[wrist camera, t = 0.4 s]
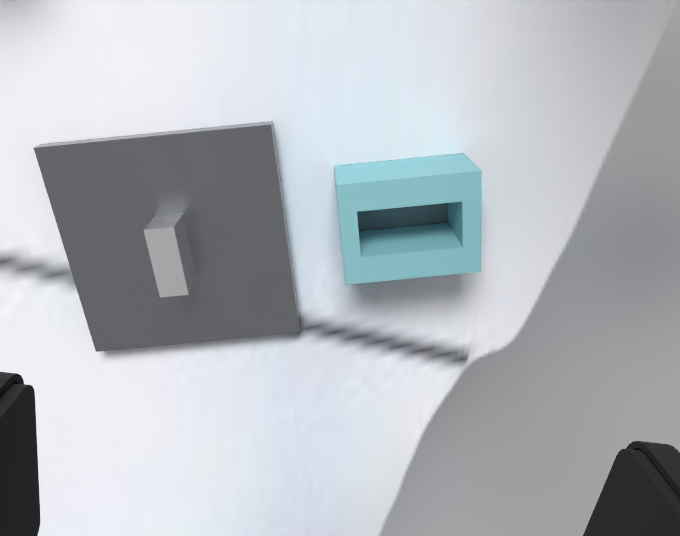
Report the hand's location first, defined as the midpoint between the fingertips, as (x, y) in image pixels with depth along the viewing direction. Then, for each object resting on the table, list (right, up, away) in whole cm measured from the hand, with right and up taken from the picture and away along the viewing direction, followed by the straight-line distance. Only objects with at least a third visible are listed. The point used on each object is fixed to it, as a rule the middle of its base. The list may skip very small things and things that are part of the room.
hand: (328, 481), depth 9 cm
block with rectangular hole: (+5, +8, +33) cm, 34 cm away
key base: (-12, +5, +34) cm, 36 cm away
